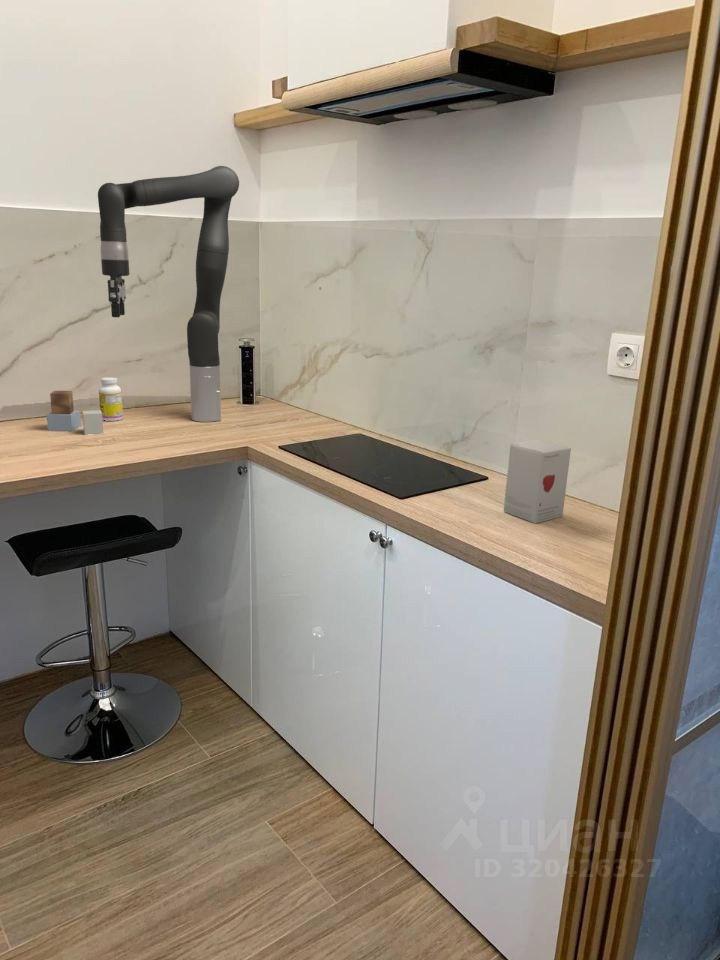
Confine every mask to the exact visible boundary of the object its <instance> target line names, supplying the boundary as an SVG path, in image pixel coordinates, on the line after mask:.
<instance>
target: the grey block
mask: <svg viewBox="0 0 720 960" xmlns="http://www.w3.org/2000/svg"><path fill="white" fill-rule="evenodd" d="M81 413H82V414H81V415H82V423H83V424H82V425H83V433H84V436H87V435H88V434H94V435H102V434H101V433H103V434H104V424H103V421H104V420H102V412H101V410H100V409H98V410H83V411H82V412H81ZM88 436H89V435H88Z"/></svg>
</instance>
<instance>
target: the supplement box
mask: <svg viewBox="0 0 720 960" xmlns="http://www.w3.org/2000/svg"><path fill="white" fill-rule="evenodd" d="M571 450H572V447H569V446H566V445H563V444H557V443H553V442H550V441H547V440H543V439H532V440H525V441H520V442H514V443H510V446H509V457H508V464H507V465H508V466H507V473H506V474H507V475H506V483H505V484H506V485H505V493H504V504H503V512H505V513H507V514H509V515H512V516H515V517H517V518H520V519H522V520H526V521H528V522H531V523H533V524H538V523H543V522H547V521H550V520H555V519H558V518H562V517H563V516H564V506H565V498H566V493H567V484H568V476H569V467H570V459H571V452H572V451H571Z"/></svg>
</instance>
